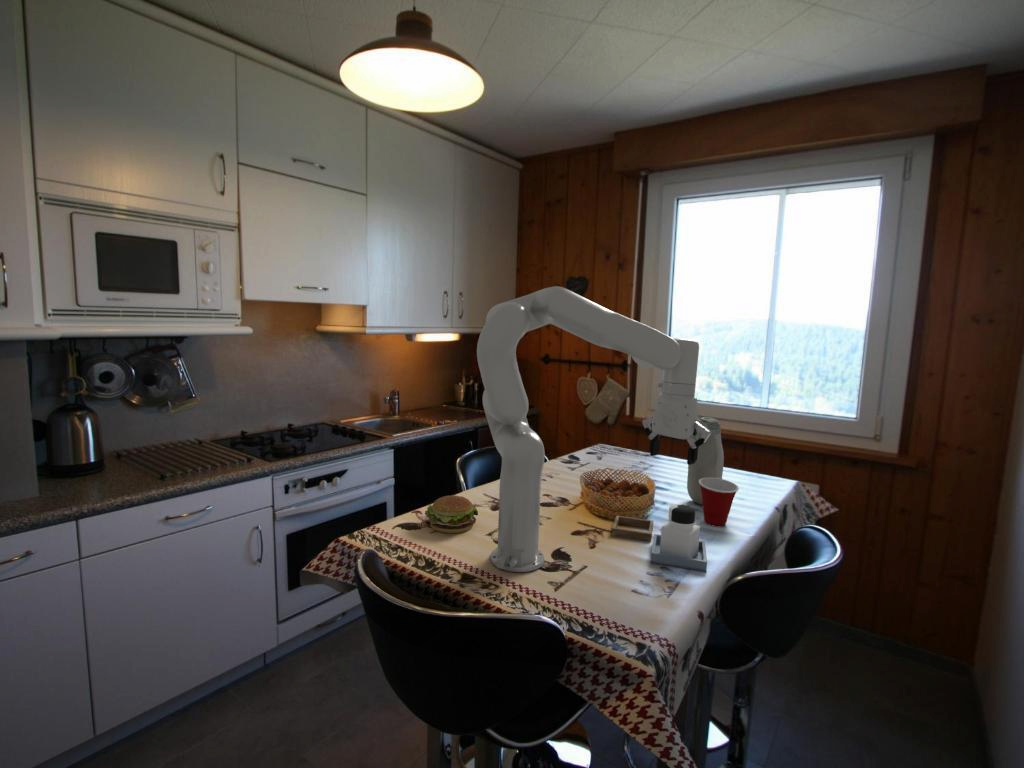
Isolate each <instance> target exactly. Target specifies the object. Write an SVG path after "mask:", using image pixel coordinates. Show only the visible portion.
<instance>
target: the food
mask: <svg viewBox="0 0 1024 768" xmlns="http://www.w3.org/2000/svg"><path fill="white" fill-rule="evenodd" d="M478 511H479V510H477V507H476V506H475V505H473V502H471V500H470V499H468V498H466V497H465V496H462V495H461V496H460V495H455V494H454V495H445V496H442V497H439V498H438V499H436V500H435V501H434V502H433V503H432V504H431V503H430V504H429V505H428V506H427V507H426V510H425V511H424V515H425V516H426V518H427V519H428V521H429V523H430V526H431V528H432V529H433V530H434V531H437V532H440V533H443V534H444V533H446V534H458V533H460V534H461V533H463V532H467V531H470V530H471V529H472V528H473V527H474V524H476V520H477V519H476V517H475V516H479V512H478Z"/></svg>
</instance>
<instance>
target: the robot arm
mask: <svg viewBox="0 0 1024 768" xmlns="http://www.w3.org/2000/svg"><path fill="white" fill-rule="evenodd" d="M547 325H553V326H554V327H557V328H558V329H561V330H563V331H565V332H568V333H570V334H572V335H574V336H576V337H579V338H581V339H582V340H584V341H587V342H589V343H591V344H593V345H596V346H599V347H601V348H605V349H609V350H612V351H613V350H614V351H618V352H621V353H624V354H627V355H629V356H631V359H632V360H633V361H634V362H635V363H636V364H637V365H639V366H641V367H643V368H648V369H655V370H660V371H663V379H662V382H658V383H657V388H658V389H661V393H658V395H657V398H656V402H655V404H654V408H653V409H654V410H653V415H652V416H651V417H647V418H645V419H642V421H641V423H642V425H643V428H644V432H645V433H646V436H648V440H649V442H650V443H649V454H650V456H651V457H655V456H658V455H659V454H660V443H661V442H660V441H661V440H660V438H659V437H660V436H664V437H669V438H674V439H678V440H686V441H687V443H688V444H689V446H690V447H689V448H688V449H687V458H686V464H687V465H688V464H689V465H691V464H694V463H695V461H697V456H698V447H700V446H701V445H702V444H704V443H705V442H706V441H707V439H708V438H709V436H710V435H711V432H710V431H709V430H708V429H707V428H705V427H704V426H702V425H701V424H700V423H698V420H699V403H698V397H697V396H696V384H697V376H698V375H697V372H698V365H699V353H700V344H699V341H697V340H696V339H692V338H676V337H675V338H672V337H671V336H669V335H667V334H665V333H663V332H662V331H659V330H658V329H655V328H653V327H651V326H649V325H648V324H644V323H643V322H639V321H637V320H634V319H632V318H630V317H627V316H625V315H622V314H620V313H618V312H616V311H613V310H610V309H608V308H606V307H604V306H602V305H600V304H598V303H596V302H594V301H592V300H590V299H588V298H586V297H584V296H582V295H580V294H578V293H576V292H574V291H572V290H569V289H568V288H565V287H563V286H558V285H556V286H549V287H546V288H542V289H540V290H537V291H534V292H532V293H529V294H526V295H523V296H519V297H517V298H514V299H511V300H507V301H504V302H501V303H498V304H495V305H494V306H492V307H491V308H490V309H489V311H488V312H487V315H486V318H485V324H484V325H483V328H482V329H481V332H480V334H479V337H478V340H477V347H476V358H477V363H478V368H479V369H478V370H479V371H480V377H481V379H482V384H483V388H484V390H483V393H482V406H483V410H484V413H485V417H486V420H487V424H488V427H489V430H490V434H491V437H492V440H493V443H494V446H495V448H496V450H497V452H498V453H499V455H500V457H501V467H500V469H501V470H500V477H499V489H498V490H499V493H498V495H499V498H498V525H497V527H498V531H497V547H496V548H495V549H494V550H492V551H491V554H490V562H491V563H492V565H494V567H496V568H497V569H501V570H503V571H506V572H512V573H527V572H533V571H535V570H538V569H540V568H541V567H542V566H543V565H544V563H545V555H544V553H543V552H542V551H540V550H539V538H540V537H539V536H540V534H539V533H540V517H541V516H540V515H541V514H540V513H541V490H542V487H541V485H542V476H543V469H544V463H545V458H546V456H545V455H546V453H545V447H544V443H543V441H542V439H541V437H540V436H539V435H538V433H537V432H536V431H534V430H533V429H532V428H531V426H530V425H529V422H528V418H527V414H528V412H529V408H530V407H529V405H530V404H529V403H530V402H529V399H528V396H527V393H526V389H525V387H524V384H523V380H522V375H521V373H520V371H519V365H518V364H519V363H518V361H517V360H518V359H517V353H516V352H517V348H518V347H517V346H518V344H519V341H520V340H521V339H522V338H523V337H524V336H525V334H526V333H527V332H531V331H534V330H537V329H540V328H542V327H544V326H547ZM698 431H700V432H701V433H702V436H701V438H700V439H697V437H696V436H697V432H698Z"/></svg>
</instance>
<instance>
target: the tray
mask: <svg viewBox="0 0 1024 768" xmlns="http://www.w3.org/2000/svg"><path fill="white" fill-rule="evenodd" d="M660 542H661V534H659V533H658V534H657V533H654V534H653V541H652V545H651V546H652V547H651V554H650V564H653V565H660V566H664V567H671V568H678V569H683V570H689V571H695V572H700V573H701V572H702V573H707V569H708V568H707V566H708V560H707V559H708V557H707V547H706V541H704V540H699V548H698V554H697V555H695V556H694V557H693V558H686V557H680V556H674V555H668V554H662V553H660Z"/></svg>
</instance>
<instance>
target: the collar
mask: <svg viewBox="0 0 1024 768" xmlns="http://www.w3.org/2000/svg"><path fill="white" fill-rule="evenodd" d="M613 522H614V523H613V524H612V527H611V536H613V537H620V538H625V539H631V540H638V541H645V542H652V536H653V529H654V520H650V519H644V518H636V517H630V516H623V515H615V519H614V521H613ZM619 525H626V526H631V527H639V528H646V529H648V532H646V531H641V530H634V529H626V528H620V527H619Z"/></svg>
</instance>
